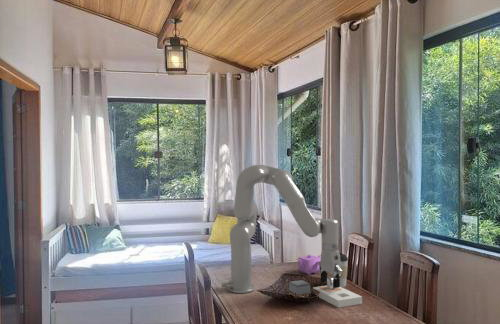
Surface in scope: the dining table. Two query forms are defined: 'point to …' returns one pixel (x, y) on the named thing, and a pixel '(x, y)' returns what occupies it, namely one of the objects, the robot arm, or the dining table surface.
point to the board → (339, 296)
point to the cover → (299, 287)
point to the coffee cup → (343, 270)
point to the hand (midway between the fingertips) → (330, 284)
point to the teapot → (309, 264)
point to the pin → (329, 283)
